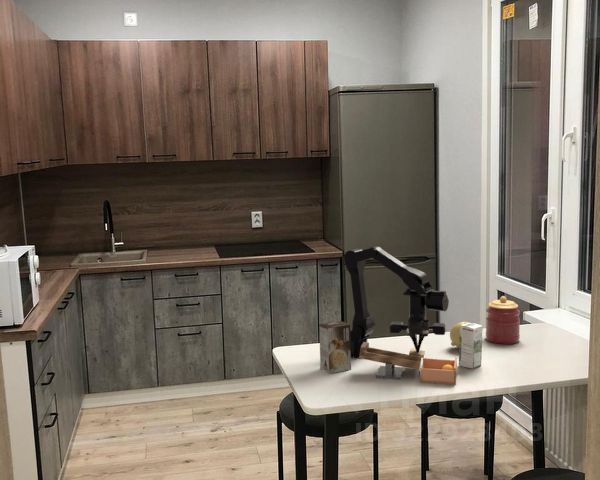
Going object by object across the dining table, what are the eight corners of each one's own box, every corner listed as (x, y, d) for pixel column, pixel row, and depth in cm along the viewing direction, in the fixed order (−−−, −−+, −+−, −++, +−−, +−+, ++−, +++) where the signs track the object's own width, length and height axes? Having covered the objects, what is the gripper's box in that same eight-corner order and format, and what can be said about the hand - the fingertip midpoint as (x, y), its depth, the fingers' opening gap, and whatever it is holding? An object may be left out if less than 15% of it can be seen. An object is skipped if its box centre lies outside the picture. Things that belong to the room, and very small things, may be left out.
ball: (439, 374, 210) (445, 364, 209) (439, 370, 214) (445, 360, 213) (450, 380, 209) (456, 370, 208) (450, 376, 213) (456, 366, 212)
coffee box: (342, 364, 227) (341, 320, 225) (351, 369, 222) (351, 324, 220) (319, 368, 223) (318, 323, 221) (328, 374, 217) (328, 328, 215)
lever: (359, 358, 215) (360, 346, 215) (367, 344, 231) (368, 333, 231) (420, 370, 210) (422, 358, 210) (424, 355, 226) (425, 344, 226)
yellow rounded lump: (486, 348, 243) (486, 321, 241) (464, 354, 236) (464, 326, 235) (466, 343, 251) (466, 316, 250) (444, 348, 244) (444, 321, 243)
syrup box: (467, 361, 228) (467, 322, 226) (482, 365, 224) (482, 324, 222) (458, 365, 224) (458, 325, 222) (473, 369, 220) (474, 328, 218)
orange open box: (420, 382, 208) (420, 365, 208) (423, 370, 219) (423, 355, 218) (455, 384, 205) (455, 368, 205) (456, 373, 216) (456, 357, 215)
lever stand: (376, 378, 213) (376, 363, 212) (380, 368, 222) (380, 354, 222) (400, 379, 211) (400, 365, 210) (403, 370, 220) (403, 356, 219)
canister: (526, 342, 250) (527, 298, 248) (497, 346, 246) (498, 301, 244) (506, 334, 262) (507, 291, 260) (478, 337, 259) (479, 294, 256)
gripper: (387, 312, 217) (388, 357, 219) (443, 314, 212) (443, 360, 214) (391, 305, 228) (392, 348, 230) (445, 307, 223) (445, 350, 225)
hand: (417, 352), depth 224 cm, fingers closed, pressing on lever
